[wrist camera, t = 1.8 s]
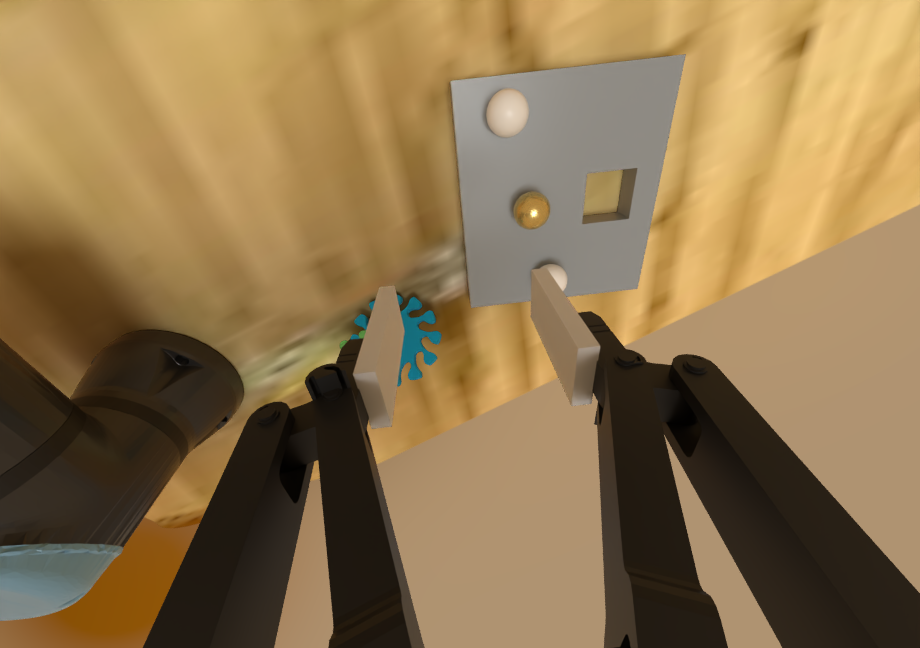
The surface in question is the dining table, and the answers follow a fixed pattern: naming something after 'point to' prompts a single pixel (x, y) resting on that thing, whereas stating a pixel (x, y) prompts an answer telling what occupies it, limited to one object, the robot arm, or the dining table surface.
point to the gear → (408, 337)
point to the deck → (562, 174)
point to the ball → (531, 210)
